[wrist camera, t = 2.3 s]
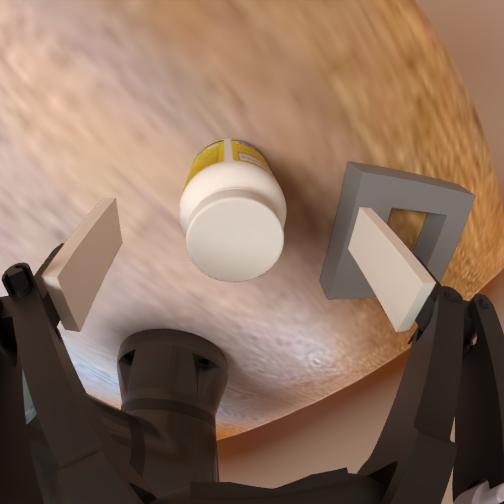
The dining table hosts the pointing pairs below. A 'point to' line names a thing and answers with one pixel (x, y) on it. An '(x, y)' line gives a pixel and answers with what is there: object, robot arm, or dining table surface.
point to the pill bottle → (232, 212)
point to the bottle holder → (381, 201)
